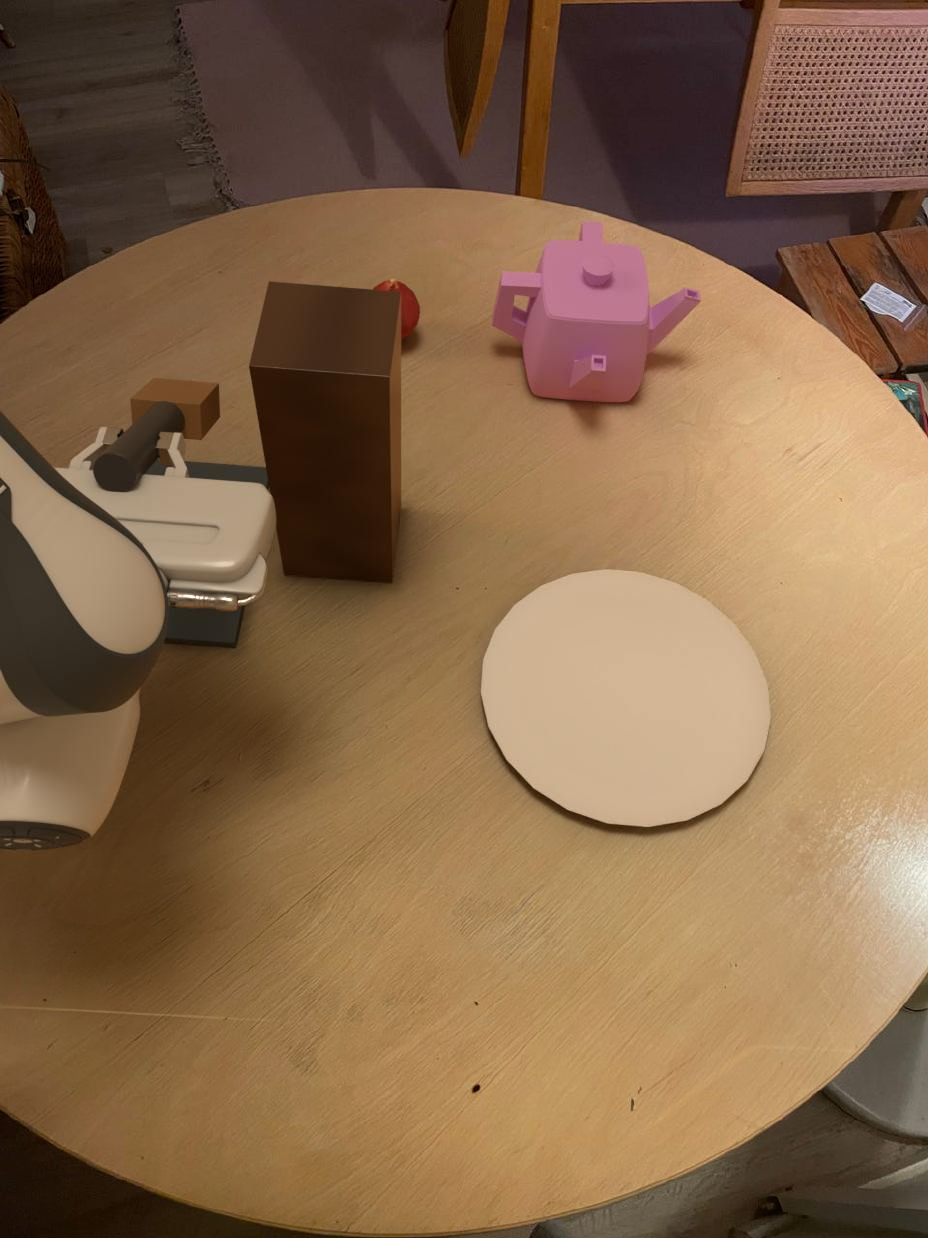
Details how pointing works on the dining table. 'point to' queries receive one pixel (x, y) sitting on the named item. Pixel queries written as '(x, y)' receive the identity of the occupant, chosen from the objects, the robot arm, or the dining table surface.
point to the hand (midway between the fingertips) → (143, 435)
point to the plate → (625, 698)
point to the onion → (404, 305)
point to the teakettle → (587, 318)
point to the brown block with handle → (156, 428)
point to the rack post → (331, 426)
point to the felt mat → (207, 622)
